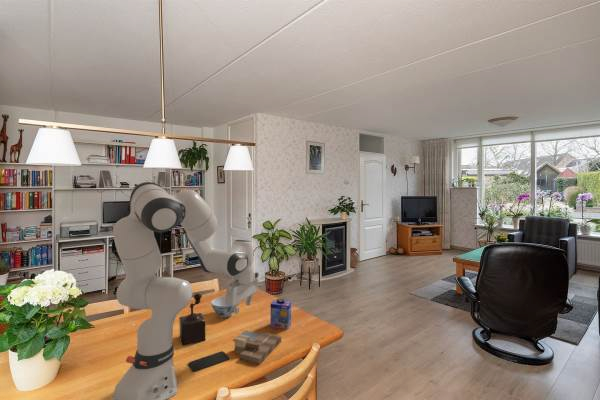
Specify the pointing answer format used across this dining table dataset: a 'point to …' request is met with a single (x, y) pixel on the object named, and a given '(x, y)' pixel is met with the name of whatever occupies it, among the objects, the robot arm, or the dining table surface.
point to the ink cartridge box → (280, 314)
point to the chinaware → (222, 307)
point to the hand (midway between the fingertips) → (242, 308)
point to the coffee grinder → (192, 325)
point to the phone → (208, 361)
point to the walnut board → (261, 348)
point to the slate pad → (251, 335)
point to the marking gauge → (244, 343)
